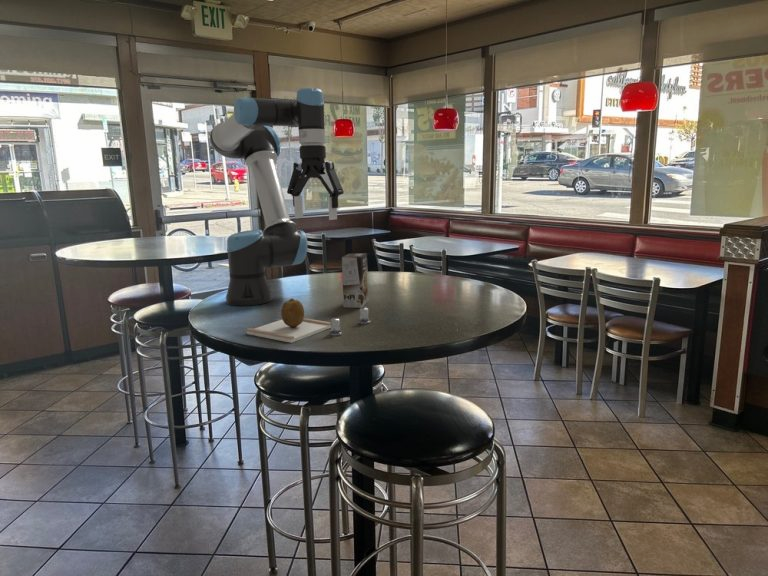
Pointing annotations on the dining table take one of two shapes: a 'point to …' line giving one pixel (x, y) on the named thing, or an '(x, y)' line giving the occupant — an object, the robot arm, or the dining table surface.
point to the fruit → (292, 313)
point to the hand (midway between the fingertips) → (315, 218)
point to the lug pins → (336, 322)
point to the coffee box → (355, 280)
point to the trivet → (290, 330)
